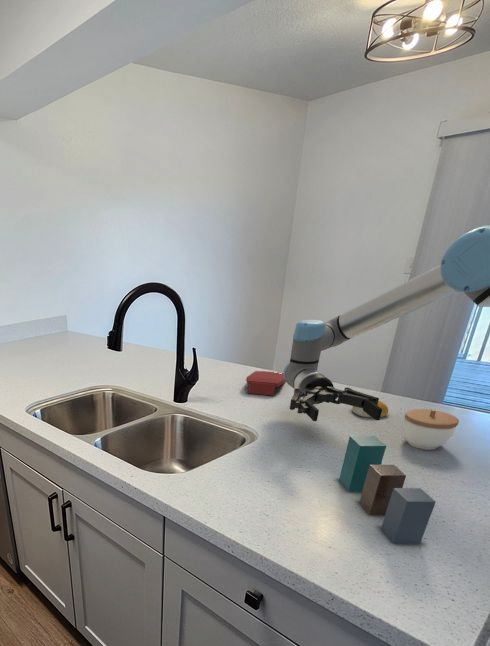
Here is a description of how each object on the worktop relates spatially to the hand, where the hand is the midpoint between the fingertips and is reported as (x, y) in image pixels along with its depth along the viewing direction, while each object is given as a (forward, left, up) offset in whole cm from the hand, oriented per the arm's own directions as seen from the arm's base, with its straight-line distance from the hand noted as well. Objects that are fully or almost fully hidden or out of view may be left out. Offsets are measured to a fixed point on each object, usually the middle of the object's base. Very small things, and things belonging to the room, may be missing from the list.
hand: (347, 415), depth 99 cm
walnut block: (0, +20, -13) cm, 23 cm away
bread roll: (-22, -32, -13) cm, 41 cm away
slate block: (0, +29, -13) cm, 31 cm away
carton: (0, -62, -13) cm, 64 cm away
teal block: (0, +11, -13) cm, 16 cm away
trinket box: (-25, -10, -13) cm, 30 cm away
